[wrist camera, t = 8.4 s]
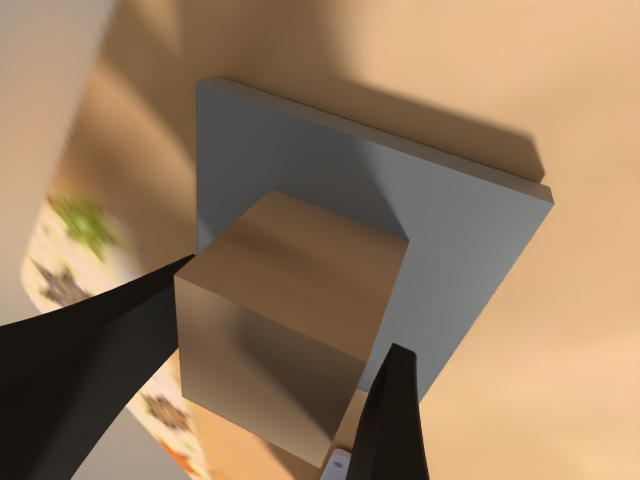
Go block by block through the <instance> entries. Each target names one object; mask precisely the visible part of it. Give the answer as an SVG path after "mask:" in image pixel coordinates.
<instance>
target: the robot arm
mask: <svg viewBox="0 0 640 480" xmlns="http://www.w3.org/2000/svg"><path fill="white" fill-rule="evenodd" d="M195 256H196V255H194V254H192V255H189V256H187V257H185V258H183V259H180V260H178V261H176V262H174V263H171V264H169V265H167V266H165V267H162V268H160V269H158V270H156V271H154V272H151V273H149V274H147V275H145V276H142V277H140V278H138V279H135V280H133V281H131V282H128V283H126V284H124V285H121V286H119V287H117V288H114V289H112V290H109V291H107V292H104V293H101V294H99V295H96V296H94V297H91V298H89V299H86V300H83V301H81V302H78V303H75V304H73V305H70V306H67V307H64V308H61V309H58V310H55V311H52V312H49V313H45V314H42V315H39V316H36V317H33V318H29V319H26V320H22V321H19V322H15V323H11V324H7V325H3V326H0V480H70V479H71V478H72V476H73V475H74V473H75V472H76V471H77V469H78V468H79V466H80V465H81V464H82V462H83V461H84V460H85V458H86V457H87V456H88V454H89V453H90V451H91V450H92V449H93V447H94V446H95V445H96V443H97V442H98V440H99V439H100V438H101V437H102V435H103V434H104V433H105V431H106V430H107V429H108V427H109V426H110V425H111V423H112V422H113V421H114V419H115V418H116V417H117V416H118V414H119V413H120V412H121V411H122V409H123V408H124V407H125V406H126V404H127V403H128V402H129V401H130V400H131V399H132V397H133V396H134V395H135V394H136V393H137V392H138V391H139V389H140V388H141V387H142V386H143V385H144V384H145V383H146V382H147V381H148V380H149V379H150V378H151V377H152V375H153V374H154V373H155V372H156V371H157V370H158V369H159V368H160V367H161V366H162V365H163V364H164V363H165V361H166V360H167V359H168V358H169V357H170V356H171V355H172V354H173V353H174V352H175V351H176V350H177V348H178V347H179V344H178V329H177V315H176V300H175V285H174V274H176V273H177V272H178V271H179V270H180V269H181V268H182V267H184V266H185V265H186V264H187V263H188V262H189V261H190V260H192V259H193V258H194V257H195ZM320 480H430V479H429V473H428V468H427V462H426V457H425V450H424V444H423V437H422V429H421V421H420V413H419V403H418V390H417V356H416V354H415V352H414V351H411V350H409V349H407V348H405V347H402V346H400V345H398V344H396V343H392V345H391V347H390V349H389V351H388V353H387V355H386V357H385V359H384V361H383V363H382V365H381V367H380V369H379V371H378V373H377V375H376V377H375V379H374V381H373V383H372V385H371V388H370V391H369V394H368V397H367V400H366V403H365V405H364V408H363V411H362V414H361V417H360V421H359V425H358V429H357V433H356V437H355V441H354V446H353V450H352V454H351V453H349V452H347V451H345V450H343V449H335V450H334V451H333V453H332V455H331V457H330V459H329V461H328V463H327V465H326V467H325V469H324V471H323V474H322V476H321V478H320Z"/></svg>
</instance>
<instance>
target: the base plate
mask: <svg viewBox="0 0 640 480" xmlns="http://www.w3.org/2000/svg"><path fill="white" fill-rule="evenodd" d="M196 97H197V254H198V253H200V252H201V251H202V250H203V249H204V248H205V247H206V246H207V245H209V244H210V243H211V242H212V241H213V240H214V239H215V238H217V237H218V236H219V235H220V234H221V233H222V232H223V231H225V230H226V229H227V228H228V227H229V226H230V225H231V224H233V223H234V222H235V221H236V220H237V219H238V218H239V217H241V216H242V215H243V214H244V213H245V212H246V211H247V210H249V209H250V208H251V207H252V206H253V205H254V204H255V203H256V202H258V201H259V200H260V199H261V198H262V197H263V196H264V195H266V194H267V193H268V192H269V191H270V190H271V189H273V190H276V191H278V192H281V193H284V194H286V195H289V196H292V197H294V198H297V199H300V200H302V201H305V202H308V203H310V204H313V205H316V206H318V207H321V208H323V209H326V210H329V211H331V212H334V213H337V214H339V215H342V216H345V217H347V218H350V219H353V220H355V221H358V222H360V223H363V224H366V225H368V226H371V227H374V228H376V229H379V230H382V231H384V232H387V233H390V234H392V235H395V236H398V237H400V238H403V239H405V240H408V241H410V242H409V245H408V247H407V250H406V253H405V256H404V259H403V262H402V265H401V268H400V270H399V273H398V276H397V279H396V282H395V285H394V288H393V291H392V293H391V296H390V299H389V302H388V305H387V308H386V311H385V314H384V316H383V319H382V322H381V325H380V328H379V331H378V334H377V337H376V339H375V342H374V345H373V348H372V351H371V354H370V357H369V359H368V362H367V365H366V367H365V369H364V371H363V374H362V376H361V378H360V380H359V383H358V385H357V388H359V389H361V390H363V391H365V392H367V393H369V391H370V388H371V385H372V383H373V381H374V379H375V377H376V375H377V373H378V371H379V369H380V367H381V365H382V363H383V361H384V359H385V357H386V355H387V353H388V351H389V349H390V347H391V345H392V343H396V344H398V345H400V346H402V347H405V348H407V349H409V350H411V351H414V352H415V354H416V356H417V390H418V403H420V401H421V400H422V398H423V397H424V396H425V394H426V393H427V391H428V390H429V388H430V387H431V385H432V384H433V382H434V381H435V379H436V378H437V376H438V375H439V373H440V372H441V370H442V369H443V368H444V366H445V365H446V363H447V362H448V360H449V359H450V357H451V356H452V354H453V353H454V351H455V350H456V348H457V347H458V345H459V344H460V343H461V341H462V340H463V338H464V337H465V335H466V334H467V332H468V331H469V329H470V328H471V326H472V325H473V323H474V322H475V320H476V319H477V318H478V316H479V315H480V313H481V312H482V310H483V309H484V307H485V306H486V304H487V303H488V301H489V300H490V298H491V297H492V295H493V294H494V292H495V291H496V290H497V288H498V287H499V285H500V284H501V282H502V281H503V279H504V278H505V276H506V275H507V273H508V272H509V270H510V269H511V267H512V266H513V265H514V263H515V262H516V260H517V259H518V257H519V256H520V254H521V253H522V251H523V250H524V248H525V247H526V245H527V244H528V242H529V241H530V239H531V238H532V237H533V235H534V234H535V232H536V231H537V229H538V228H539V226H540V225H541V223H542V222H543V220H544V219H545V217H546V216H547V214H548V213H549V212H550V210H551V209H552V207H553V206H554V201H553V197H552V193H551V190H550V187H548V186H545V185H542V184H539V183H536V182H533V181H530V180H527V179H524V178H521V177H518V176H515V175H512V174H509V173H506V172H503V171H500V170H497V169H494V168H491V167H488V166H485V165H482V164H479V163H476V162H473V161H470V160H467V159H464V158H461V157H458V156H455V155H452V154H449V153H446V152H443V151H440V150H437V149H434V148H431V147H428V146H425V145H422V144H419V143H416V142H413V141H410V140H407V139H404V138H401V137H398V136H395V135H392V134H389V133H386V132H383V131H380V130H377V129H374V128H371V127H368V126H365V125H362V124H359V123H356V122H353V121H350V120H347V119H344V118H341V117H338V116H335V115H332V114H329V113H326V112H323V111H320V110H317V109H314V108H311V107H308V106H305V105H302V104H299V103H296V102H293V101H290V100H287V99H284V98H281V97H278V96H275V95H272V94H269V93H266V92H263V91H260V90H257V89H254V88H251V87H248V86H245V85H242V84H239V83H236V82H233V81H230V80H227V79H224V78H221V77H218V76H215V77H211V78H208V79H205V80H201V81H198V82H196Z"/></svg>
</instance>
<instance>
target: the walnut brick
mask: <svg viewBox="0 0 640 480" xmlns="http://www.w3.org/2000/svg"><path fill="white" fill-rule="evenodd" d="M409 242H410V241H408V240H405V239H403V238H400V237H398V236H395V235H392V234H390V233H387V232H384V231H382V230H379V229H376V228H374V227H371V226H368V225H366V224H363V223H360V222H358V221H355V220H353V219H350V218H347V217H345V216H342V215H339V214H337V213H334V212H331V211H329V210H326V209H323V208H321V207H318V206H316V205H313V204H310V203H308V202H305V201H302V200H300V199H297V198H294V197H292V196H289V195H286V194H284V193H281V192H278V191H276V190H273V189H271V190H270V191H269V192H268V193H267V194H266V195H264V196H263V197H262V198H261V199H260V200H259V201H258V202H256V203H255V204H254V205H253V206H252V207H251V208H250V209H249V210H247V211H246V212H245V213H244V214H243V215H242V216H241V217H239V218H238V219H237V220H236V221H235V222H234V223H233V224H231V225H230V226H229V227H228V228H227V229H226V230H225V231H223V232H222V233H221V234H220V235H219V236H218V237H217V238H215V239H214V240H213V241H212V242H211V243H210V244H209V245H207V246H206V247H205V248H204V249H203V250H202V251H201V252H200V253H198V254H197V255H196V256H195V257H194V258H193V259H192V260H190V261H189V262H188V263H187V264H186V265H185V266H184V267H182V268H181V269H180V270H179V271H178V272H177V273H176V274H174V285H175V300H176V315H177V329H178V344H179V359H180V373H181V388H182V397H184V398H186V399H188V400H190V401H191V402H193V403H195V404H197V405H199V406H201V407H203V408H205V409H207V410H209V411H211V412H213V413H214V414H216V415H218V416H220V417H222V418H224V419H226V420H228V421H230V422H232V423H234V424H236V425H237V426H239V427H241V428H243V429H245V430H247V431H249V432H251V433H253V434H255V435H257V436H258V437H260V438H262V439H264V440H266V441H268V442H270V443H272V444H274V445H276V446H278V447H280V448H281V449H283V450H285V451H287V452H289V453H291V454H293V455H295V456H297V457H299V458H301V459H303V460H304V461H306V462H308V463H310V464H312V465H314V466H316V467H318V468H321V466H322V464H323V461H324V459H325V457H326V455H327V452H328V450H329V448H330V446H331V443H332V441H333V439H334V437H335V434H336V432H337V430H338V428H339V425H340V423H341V421H342V419H343V416H344V414H345V412H346V410H347V407H348V405H349V403H350V401H351V398H352V396H353V394H354V392H355V389H356V387H357V385H358V383H359V380H360V378H361V376H362V374H363V371H364V369H365V367H366V365H367V362H368V359H369V357H370V354H371V351H372V348H373V345H374V342H375V339H376V337H377V334H378V331H379V328H380V325H381V322H382V319H383V316H384V314H385V311H386V308H387V305H388V302H389V299H390V296H391V293H392V291H393V288H394V285H395V282H396V279H397V276H398V273H399V270H400V268H401V265H402V262H403V259H404V256H405V253H406V250H407V247H408V245H409Z"/></svg>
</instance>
